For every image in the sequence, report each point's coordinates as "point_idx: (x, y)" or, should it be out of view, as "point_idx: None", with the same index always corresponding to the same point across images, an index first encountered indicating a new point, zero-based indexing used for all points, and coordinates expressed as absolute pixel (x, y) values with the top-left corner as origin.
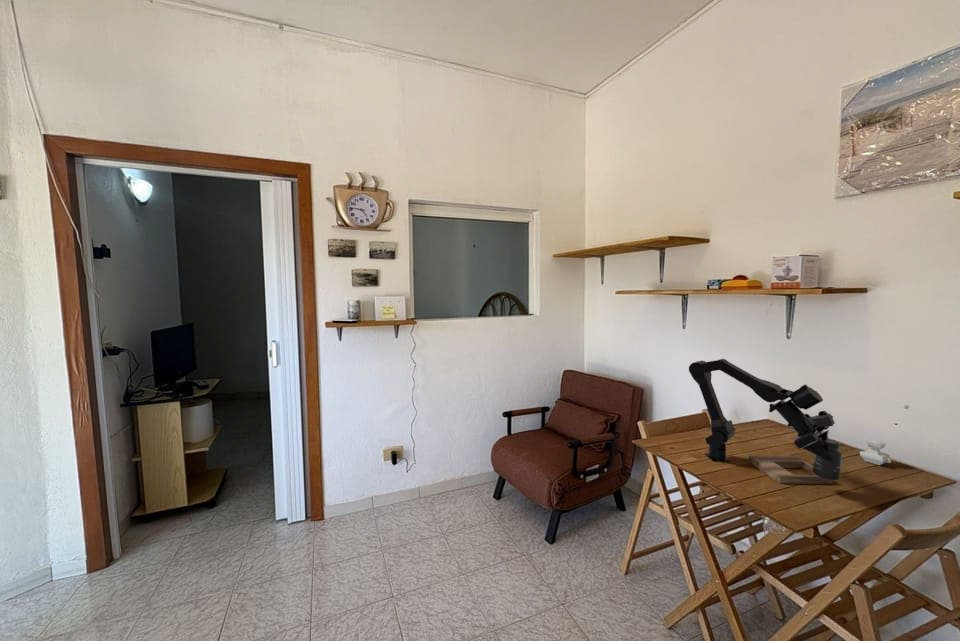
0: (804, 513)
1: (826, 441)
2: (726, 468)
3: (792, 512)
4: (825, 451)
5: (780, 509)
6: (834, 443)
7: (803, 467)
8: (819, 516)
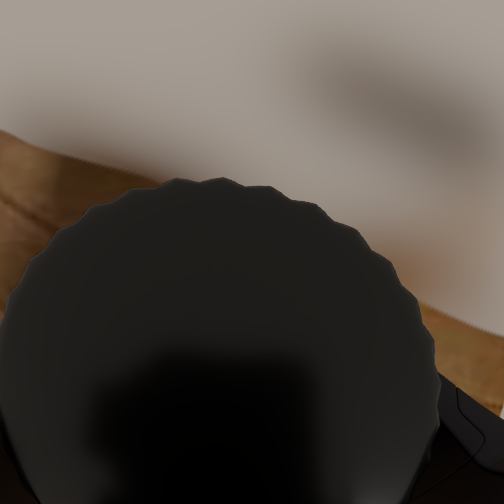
0: (470, 359)
1: (372, 479)
2: None
3: (481, 380)
4: (448, 383)
5: (484, 406)
6: (390, 270)
7: None
8: (460, 325)
